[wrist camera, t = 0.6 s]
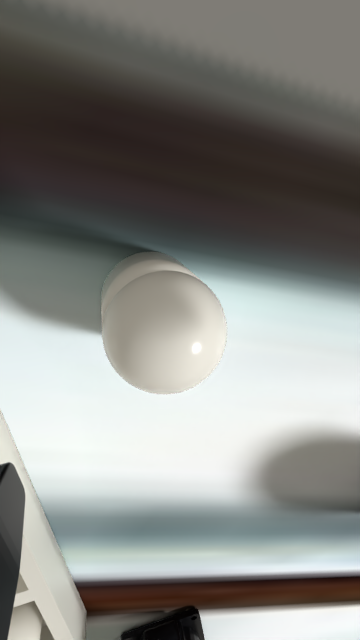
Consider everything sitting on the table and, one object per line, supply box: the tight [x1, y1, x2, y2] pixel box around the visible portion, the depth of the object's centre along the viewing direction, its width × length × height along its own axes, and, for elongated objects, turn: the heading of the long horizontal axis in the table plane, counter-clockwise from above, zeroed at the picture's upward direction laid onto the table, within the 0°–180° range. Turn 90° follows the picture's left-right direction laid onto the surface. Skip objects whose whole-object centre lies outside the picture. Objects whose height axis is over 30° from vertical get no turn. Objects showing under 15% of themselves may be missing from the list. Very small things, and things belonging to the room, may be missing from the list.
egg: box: [101, 252, 227, 394], centre depth 14 cm, size 5×5×7 cm
